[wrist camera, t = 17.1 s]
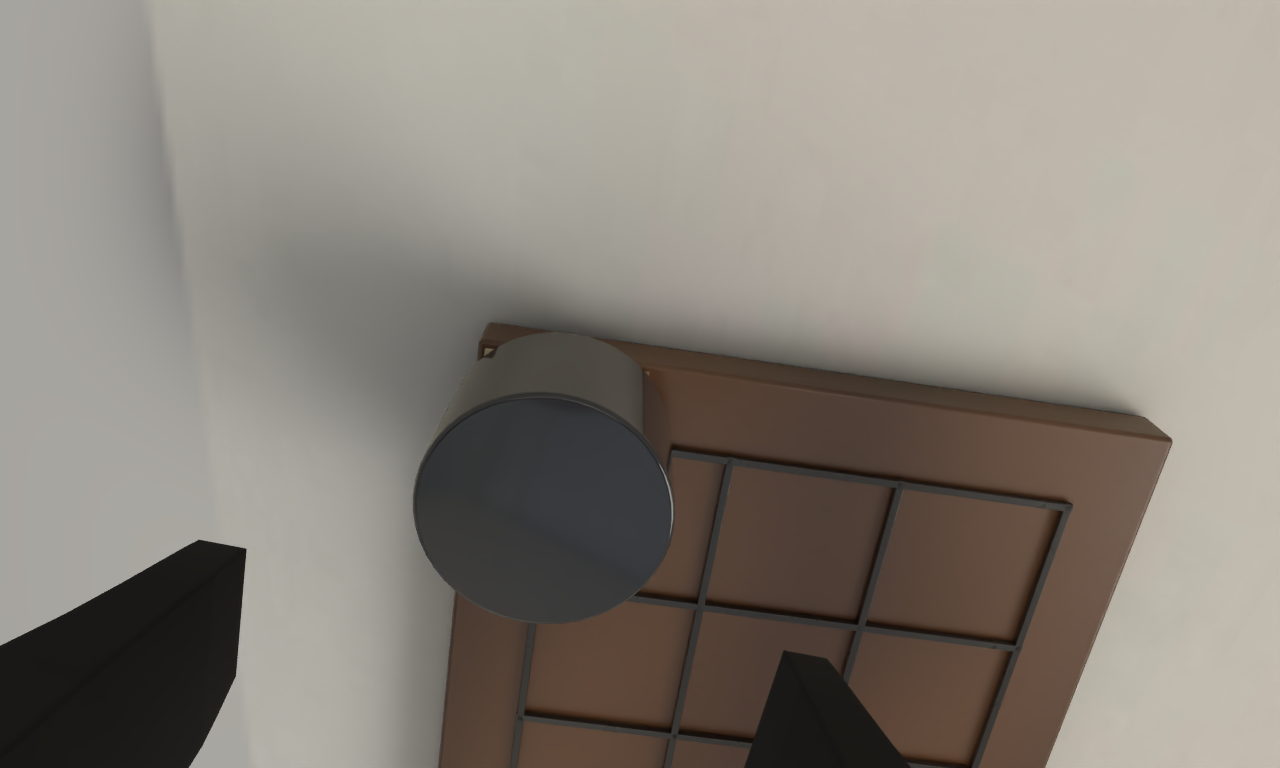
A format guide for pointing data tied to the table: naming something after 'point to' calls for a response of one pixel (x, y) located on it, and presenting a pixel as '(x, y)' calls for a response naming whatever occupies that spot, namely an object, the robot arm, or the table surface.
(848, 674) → the board
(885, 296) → the table surface
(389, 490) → the table surface
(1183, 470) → the table surface
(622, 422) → the dark grey cylinder
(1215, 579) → the table surface
